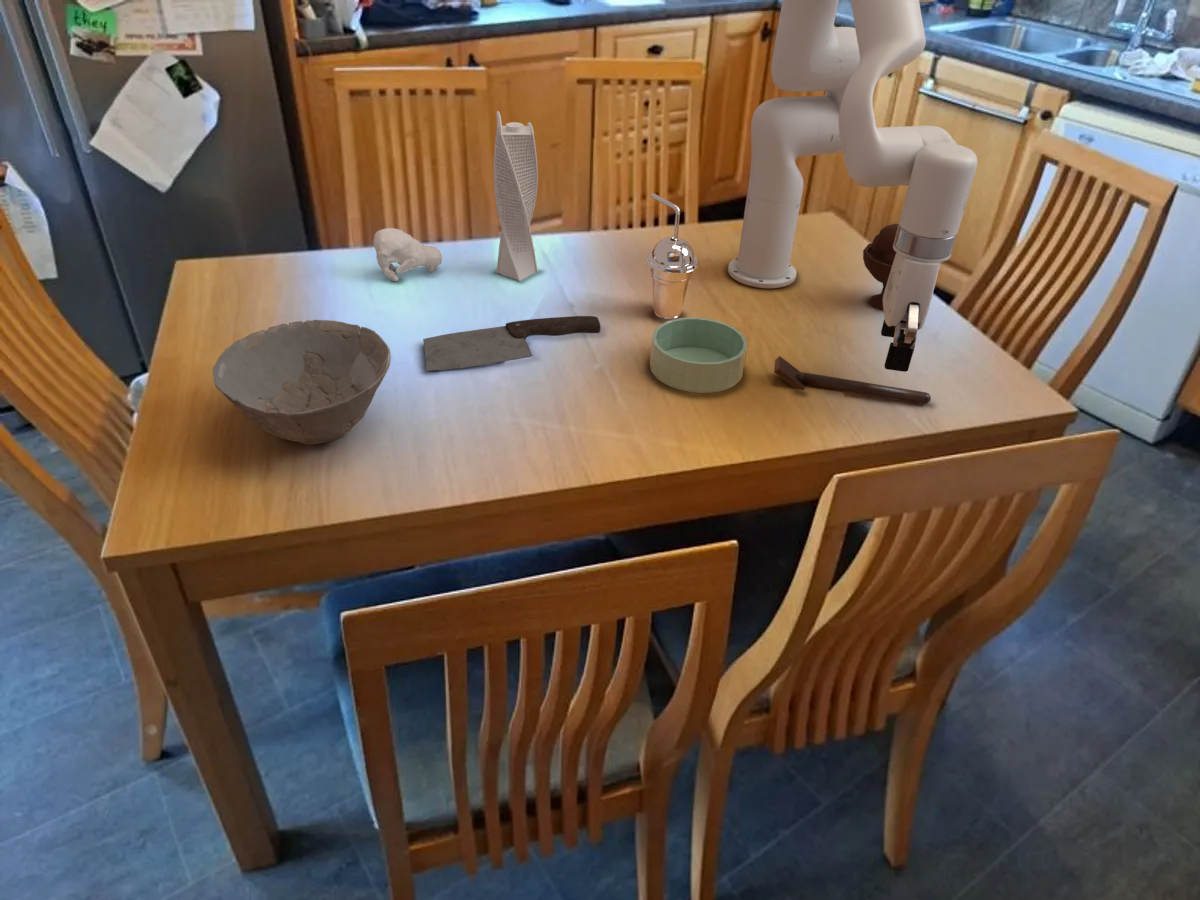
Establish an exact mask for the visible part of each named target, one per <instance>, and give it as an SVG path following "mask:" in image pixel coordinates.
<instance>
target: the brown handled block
mask: <svg viewBox="0 0 1200 900" xmlns="http://www.w3.org/2000/svg"><path fill="white" fill-rule="evenodd" d="M773 369H774V371H773V373H774V374H775V375H777V376H778V377H779V378H781V379H782V380H783V381H784V382H786V383H787V384H788V385H790V386H791V387H792V388H794V389H795V390H800V391H804V390H806V386H812V387H818V388H823V389H828V390H835V391H841V392H847V393H853V394H859V395H864V396H872V397H876V398H883V399H888V400H889V399H890V400H895V401H901V402H905V403H911V404H912V403H913V404H919V405H927V404H929V403H931V400H932V397H931V394H930V393H928V392H926V391H922V390H921V391H920V390H915V389H908V388H903V387H896V386H890V385H884V384H879V383H878V384H877V383H873V382H865V381H859V380H853V379H847V378H842V377H835V376H829V375H823V374H818V373H812V372H806V371H805V372H804V371H800V370H799V369H798V368H796V367H795V366H794V365H792V364H791V363H790V362H788V361H787V360H786V359H785V358H783V357H782V356H781V355H778V357H776V359H774V368H773Z"/></svg>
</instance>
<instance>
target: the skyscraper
mask: <svg viewBox="0 0 1200 900" xmlns="http://www.w3.org/2000/svg"><path fill="white" fill-rule="evenodd" d="M495 114H496V115H495V116H496V131H495V141H494V151H493V153H494V154H493V190H494V199H495V206H496V211H497V217H498V220H499V225H500V230H501V231H500V236H499V245H498V254H497V264H496V271H495V272H496V274H500V275H502V276H505V277H508V278H511V279H514V280H516V281H518V282H521V281H522V280H525V279H526V278H528V277H530V276H532V275H533V274H535V273H538V272H539V271H538V263H537V258H536V252H535V247H534V242H533V241H534V240H533V235H532V231H531V223H532V219H533V215H534V212H535V207H536V201H537V196H538V187H539V186H538V185H539V169H538V168H539V164H538V154H537V146H536V140H535V139H536V138H535V131H534V127H533V124H532V123H531V122H530V121H528V122H527V125H524V124H523V123H522V122H517V121H512V122H507V123H506V124H505V125H503V123H502V116H501V113H500V111H499V110H497V111H496V113H495Z"/></svg>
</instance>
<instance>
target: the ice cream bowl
mask: <svg viewBox="0 0 1200 900" xmlns="http://www.w3.org/2000/svg"><path fill="white" fill-rule="evenodd" d="M898 225H899V223H891V224H889V225H885V226H884V227H882V228H881V229H880V230H879V233H878V234H877V235H875V236H874V238H873V241H872V242H871V243H868V244H867V245H866V246H865V247H864V249H863V250H862V260H863V264H864V266H865V268H866V269H867V271H868V272H869V273H870V275H871V276H872V277H873V278H874V280H876V281H877V282H878V283H881V284H882V288H881V292H880V293H877V294H873V295H871V296H870V298H869V299H868V301H867V303H868V304H869V306H870V307H871V308H874V309H876V310H879V311H884V310H883V295H884V291H885V288H886V285H887V281H888V278H889V275H890V271H891V268H892V265H893V261H894V258H895V255H896V251H894V249H893V244H894V240H895V236H896V232H897V229H898Z"/></svg>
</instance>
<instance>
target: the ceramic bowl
mask: <svg viewBox="0 0 1200 900" xmlns="http://www.w3.org/2000/svg"><path fill="white" fill-rule="evenodd" d="M391 361H392V353H391V348H390V347H389V346H388V344H387V342H386V341H385V340H384V339H383V337H381V335H379V334H378V333H377V332H376V331H375V330H374V329H371V328H368V327H365V326H359V325H358V324H352V323H347V322H345V321H344V322H343V321H338V320H330V319H313V320H305V321H302V320H298V321H293V322H288V323H281V324H278V325H274V326H270V327H268V328H267V330H264V329H261V330H258V331H255V332H251V333H250V334H248V335H247V336H244V337H243V338H240V339H237V340H236V341H234V342H233V343H232V344H230V345H229V346H228V347H226V348H225V349H224V351H222V353H221V354H220V355H219V357H218V359H217V360H216V362H215V363H214V366H213V367H212V378H213V383H214V385H215V387H216V388H217V390H218V391H219V392H220V393H221V394H222V395H223V396H224V397H225V398H226V399H227V400H228V401H230V403H232V404H233V406H234V407H236V409H237V410H239V411H240V412H241V413H242V414H243V415H244V416H245V417H246V418H247V419H248V420H249V421H250V422H252V423H253V424H254V425H256V426H257V427H259V428H260V429H261V430H263V431H264V432H266V433H268V434H270V435H271V436H273V437H276V438H280V439H282V440H286V441H291V442H295V443H300V444H303V445H310V446H313V445H314V446H315V445H320V444H324V443H331V442H334V441H337V440H340V439H341V438H343V437H344V436H345V435H346V434H348V433H349V432H350V431H351V430H352V429H353V428H354V426H355V425H357V423H359V421H361V419H362V418H364V415H365V414H366V412H367V410H368V409H369V407H370V405H371V403H372V401H373V398H374V396H375V394H376V392H377V390H378V389H379V387H380V385H381V384H382V382H383V381H384V378H385V376H386V375H387V372H388V370H389V369H390V366H391Z"/></svg>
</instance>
